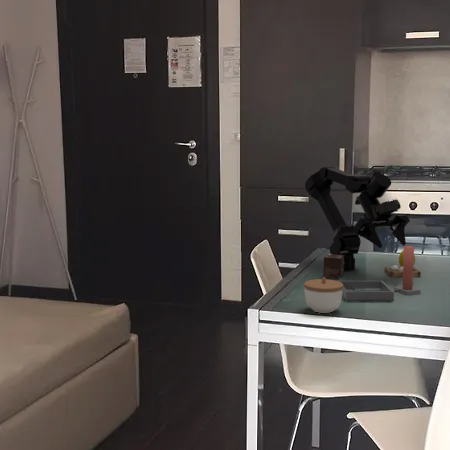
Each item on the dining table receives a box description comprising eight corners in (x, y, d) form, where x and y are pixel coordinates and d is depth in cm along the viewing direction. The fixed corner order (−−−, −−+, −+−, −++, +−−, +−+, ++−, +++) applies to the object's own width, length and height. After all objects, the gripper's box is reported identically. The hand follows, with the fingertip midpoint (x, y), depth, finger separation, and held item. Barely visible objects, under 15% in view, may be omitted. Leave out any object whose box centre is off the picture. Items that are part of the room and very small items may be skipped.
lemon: (416, 272, 246) (417, 249, 245) (400, 272, 246) (401, 249, 245) (412, 269, 251) (413, 247, 250) (396, 269, 251) (397, 246, 250)
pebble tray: (390, 279, 236) (390, 272, 235) (384, 274, 243) (384, 267, 243) (420, 279, 236) (420, 272, 235) (413, 274, 244) (413, 267, 243)
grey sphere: (391, 274, 239) (391, 266, 238) (389, 272, 242) (389, 264, 241) (400, 274, 239) (400, 266, 238) (398, 272, 242) (398, 264, 241)
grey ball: (399, 276, 237) (400, 267, 236) (397, 274, 240) (397, 265, 239) (408, 276, 237) (409, 267, 236) (406, 274, 240) (406, 265, 239)
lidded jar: (295, 310, 198) (296, 277, 197) (319, 303, 206) (320, 271, 204) (326, 318, 191) (327, 284, 189) (350, 310, 198) (351, 277, 197)
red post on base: (394, 291, 220) (396, 245, 218) (407, 289, 223) (408, 244, 220) (407, 295, 215) (409, 249, 213) (420, 293, 217) (422, 247, 215)
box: (341, 280, 235) (341, 258, 234) (322, 278, 237) (323, 257, 236) (344, 276, 241) (344, 254, 240) (326, 274, 243) (326, 253, 242)
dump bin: (337, 290, 221) (337, 280, 221) (382, 290, 222) (382, 280, 221) (345, 302, 207) (346, 292, 207) (393, 301, 208) (394, 291, 207)
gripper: (359, 192, 221) (381, 232, 213) (407, 189, 230) (429, 228, 221) (344, 214, 230) (364, 254, 221) (390, 211, 238) (411, 249, 230)
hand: (393, 246), depth 223 cm, fingers open, 9 cm apart
